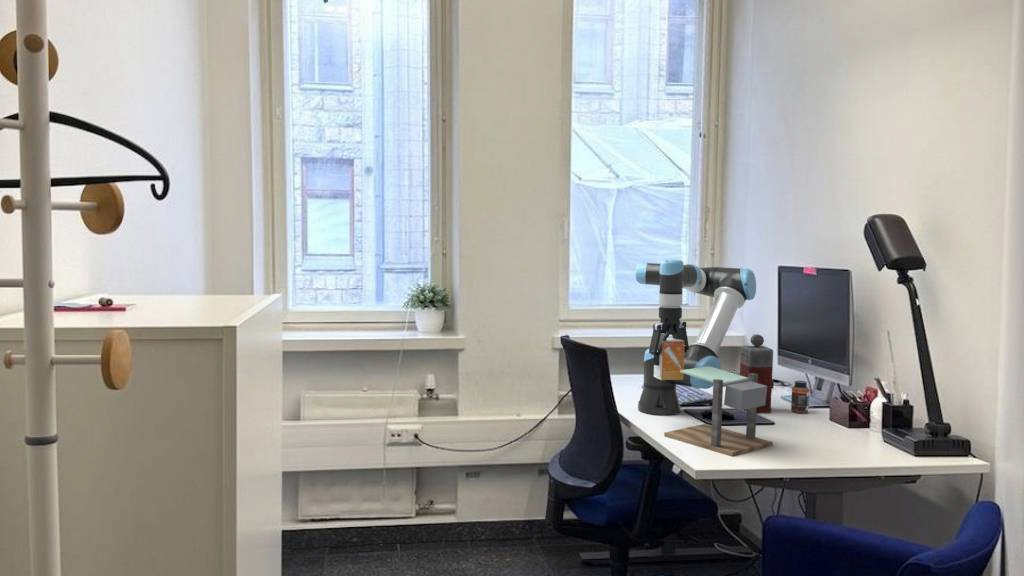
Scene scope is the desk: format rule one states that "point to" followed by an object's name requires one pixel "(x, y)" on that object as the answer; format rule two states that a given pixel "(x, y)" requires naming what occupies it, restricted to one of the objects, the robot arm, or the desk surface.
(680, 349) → the small box
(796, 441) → the desk surface
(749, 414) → the frame
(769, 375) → the red and grey canister
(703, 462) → the desk surface
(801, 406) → the supplement bottle
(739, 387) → the trapdoor
